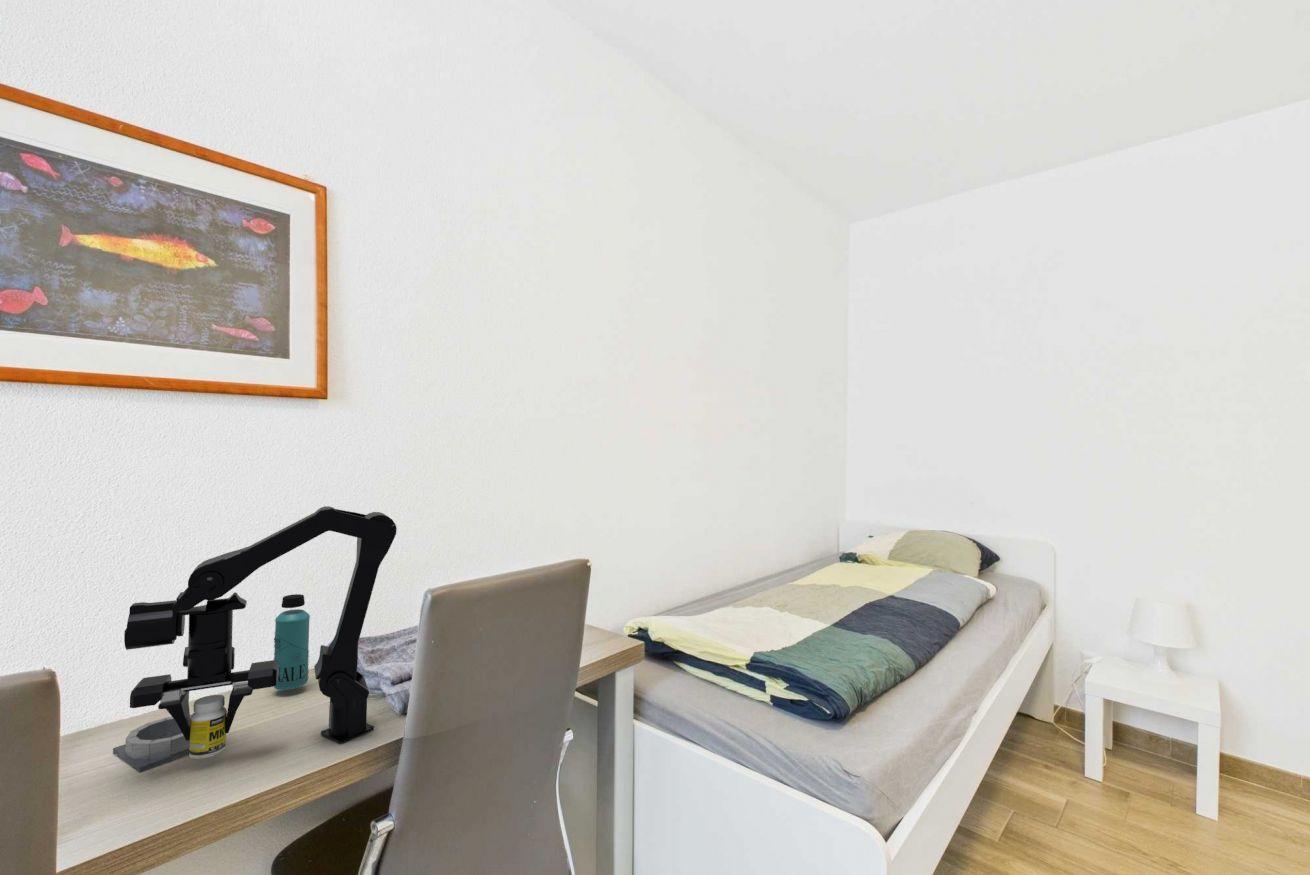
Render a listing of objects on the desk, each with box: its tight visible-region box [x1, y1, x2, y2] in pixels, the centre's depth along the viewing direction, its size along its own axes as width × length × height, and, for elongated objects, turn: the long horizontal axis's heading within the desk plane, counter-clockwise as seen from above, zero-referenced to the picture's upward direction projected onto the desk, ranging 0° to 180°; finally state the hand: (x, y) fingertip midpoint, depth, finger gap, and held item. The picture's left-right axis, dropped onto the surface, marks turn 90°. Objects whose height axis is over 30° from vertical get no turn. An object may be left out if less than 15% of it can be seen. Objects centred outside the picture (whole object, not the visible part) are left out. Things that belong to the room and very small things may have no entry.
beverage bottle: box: [272, 593, 311, 691], centre depth 124 cm, size 6×7×20 cm
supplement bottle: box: [188, 694, 228, 760], centre depth 96 cm, size 5×5×8 cm
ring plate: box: [112, 714, 192, 773], centre depth 100 cm, size 11×11×3 cm
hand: (208, 735), depth 96 cm, fingers closed on supplement bottle, 5 cm apart
